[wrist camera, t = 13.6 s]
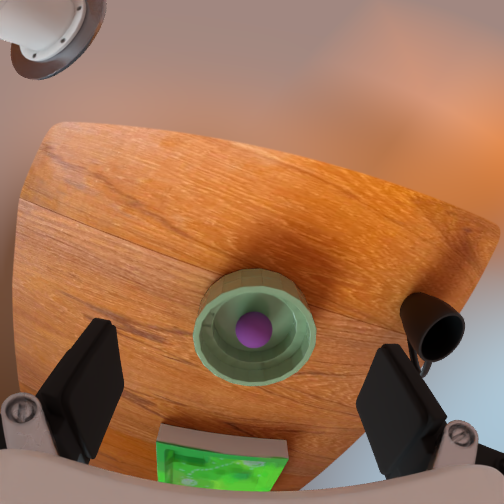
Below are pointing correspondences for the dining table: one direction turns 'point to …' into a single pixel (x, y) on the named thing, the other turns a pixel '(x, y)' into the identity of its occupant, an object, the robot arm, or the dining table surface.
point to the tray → (218, 460)
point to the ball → (253, 329)
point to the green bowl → (259, 300)
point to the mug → (430, 329)
